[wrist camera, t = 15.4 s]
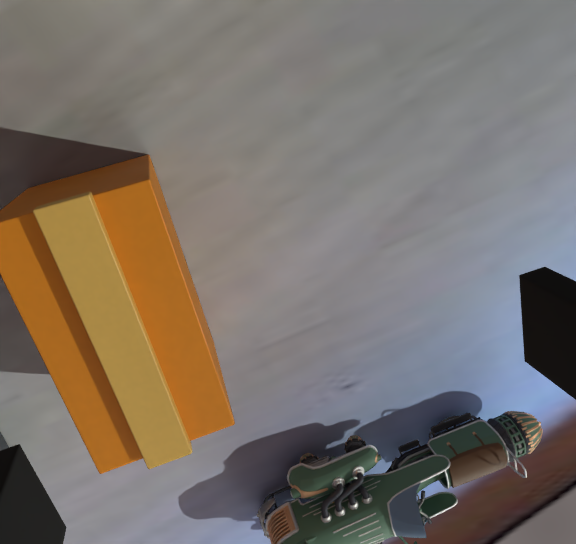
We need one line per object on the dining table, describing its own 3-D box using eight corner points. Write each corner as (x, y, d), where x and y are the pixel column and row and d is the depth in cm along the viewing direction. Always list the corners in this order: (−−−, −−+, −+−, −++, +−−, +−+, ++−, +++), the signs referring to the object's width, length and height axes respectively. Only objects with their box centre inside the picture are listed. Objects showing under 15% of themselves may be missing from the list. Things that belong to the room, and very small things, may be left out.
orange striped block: (25, 185, 31) (-32, 228, 21) (148, 151, 32) (148, 176, 22) (112, 380, 36) (99, 488, 26) (214, 345, 37) (238, 436, 28)
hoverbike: (239, 469, 42) (260, 553, 34) (510, 358, 45) (583, 412, 37) (272, 550, 45) (297, 642, 38) (520, 441, 49) (589, 505, 41)
